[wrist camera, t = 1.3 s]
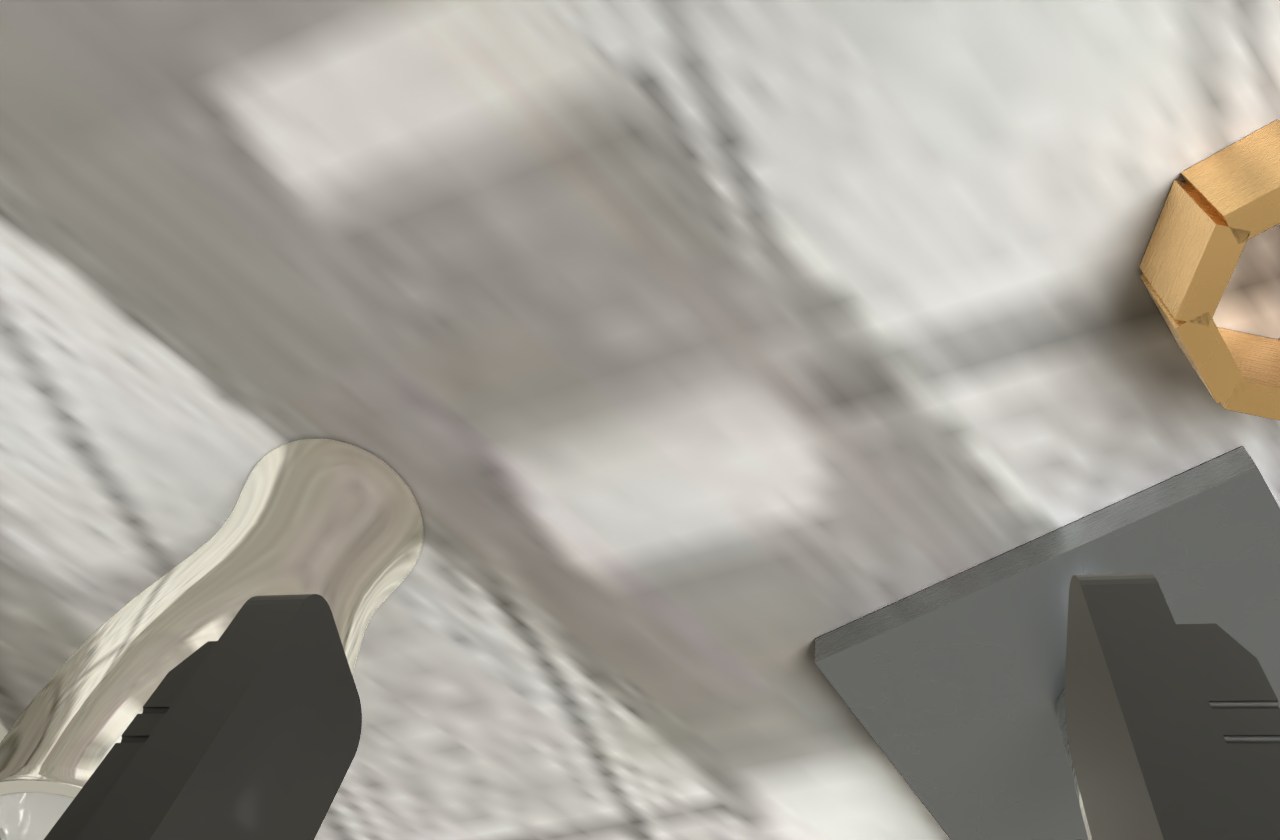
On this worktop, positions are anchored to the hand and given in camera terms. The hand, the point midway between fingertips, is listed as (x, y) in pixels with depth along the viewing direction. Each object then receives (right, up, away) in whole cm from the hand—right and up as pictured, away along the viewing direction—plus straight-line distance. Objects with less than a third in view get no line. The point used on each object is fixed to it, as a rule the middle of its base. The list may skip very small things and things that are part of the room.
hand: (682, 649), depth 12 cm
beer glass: (-10, -1, +26) cm, 28 cm away
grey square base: (+14, -6, +24) cm, 29 cm away
